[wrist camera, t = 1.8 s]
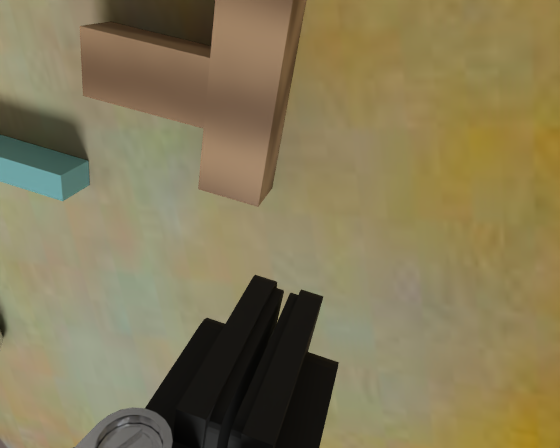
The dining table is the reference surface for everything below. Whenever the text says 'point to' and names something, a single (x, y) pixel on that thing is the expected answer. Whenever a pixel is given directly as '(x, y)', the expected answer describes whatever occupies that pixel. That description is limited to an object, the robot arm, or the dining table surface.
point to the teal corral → (41, 169)
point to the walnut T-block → (208, 86)
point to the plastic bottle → (1, 339)
